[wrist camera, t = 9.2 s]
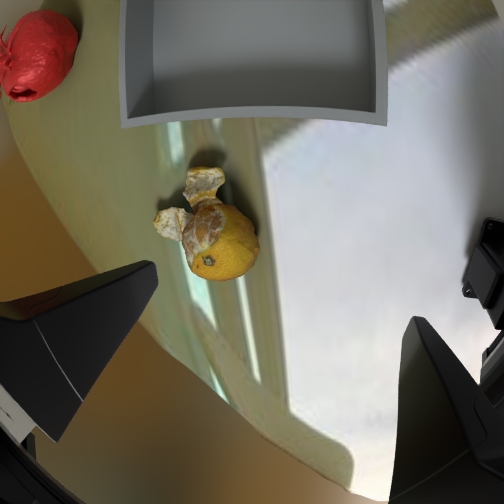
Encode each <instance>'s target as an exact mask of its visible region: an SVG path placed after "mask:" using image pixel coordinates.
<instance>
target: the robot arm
mask: <svg viewBox="0 0 504 504" xmlns="http://www.w3.org/2000/svg"><path fill="white" fill-rule="evenodd" d="M489 223H491V226H490V227H488V224H489ZM466 276H467V277H466V280H465V283H464V286H463V288H462V293H463V295H464V296H465V297H467V298H476V299H479V301H480V303H481V305H482V307H483V309H486V310H487V312H488V314H489V316H490V318H491V321H492V323H493V325H494V327H495V329H496V330H501V332H500V333H499V334H498V336H497V337H496V339H495V340H494V341H493V343H492V344H491V345H490V347H489V348H486V350H485V351H484V352H483V354H482V368H481V374H480V384H479V385H478V384H477V383H476V382H475V380H474V379H473V378H472V376H471V375H470V374H469V372H468V371H467V370H466V368H465V367H464V366H463V364H462V363H461V362H460V360H459V359H458V358H457V357H456V355H455V354H454V353H453V351H452V350H451V349H450V348H449V346H448V345H447V344H446V343H445V342H444V340H443V339H442V338H441V337H440V335H439V334H438V333H437V332H436V331H435V329H434V328H433V327H432V326H431V325H430V323H429V322H428V321H427V320H426V319H425V318H424V317H419V316H413V317H412V318H411V320H410V322H409V324H408V326H407V329H406V331H405V333H404V335H403V339H402V349H401V362H400V372H399V385H398V422H397V438H396V450H395V460H394V469H393V476H392V483H391V490H390V496H389V502H388V504H504V221H503V220H498V219H494V218H486V219H485V220H484V222H483V226H482V230H481V233H480V237H479V240H478V244H477V245H476V247H475V250H474V253H473V256H472V259H471V262H470V265H469V268H468V271H467V274H466ZM157 286H158V276H157V270H156V265H155V263H154V262H152V261H148V260H142V261H139V262H136V263H133V264H129V265H126V266H123V267H120V268H117V269H113V270H110V271H107V272H104V273H101V274H97V275H95V276H92V277H88V278H85V279H82V280H79V281H76V282H73V283H70V284H66V285H64V286H60V287H57V288H54V289H51V290H48V291H45V292H41V293H38V294H34V295H30V296H27V297H23V298H19V299H15V300H12V301H7V302H0V504H86V503H85V502H84V501H82V500H81V499H80V498H79V497H77V496H76V495H75V494H73V493H72V492H71V491H70V490H68V489H67V488H66V487H65V486H64V485H62V484H61V483H60V482H59V481H58V480H56V479H55V478H54V477H53V476H52V475H51V474H50V473H49V472H48V471H47V470H46V469H45V468H43V467H42V466H41V465H40V464H39V463H38V462H37V461H36V451H35V436H34V434H32V433H31V430H32V429H33V428H34V427H35V425H37V426H38V427H39V428H40V429H41V430H42V431H43V432H44V433H45V434H46V435H47V436H49V437H50V438H51V439H52V440H53V441H54V442H55V443H57V442H58V441H59V440H60V438H61V436H62V435H63V433H64V431H65V430H66V428H67V426H68V425H69V423H70V422H71V420H72V418H73V417H74V415H75V413H76V412H77V410H78V409H79V407H80V405H81V404H82V402H83V400H84V399H85V397H86V396H87V394H88V392H89V391H90V389H91V388H92V386H93V385H94V383H95V382H96V380H97V379H98V377H99V376H100V374H101V373H102V371H103V370H104V368H105V367H106V365H107V363H108V362H109V361H110V359H111V358H112V356H113V355H114V353H115V352H116V350H117V349H118V347H119V346H120V345H121V343H122V342H123V340H124V339H125V337H126V336H127V335H128V333H129V332H130V330H131V329H132V327H133V326H134V325H135V323H136V322H137V320H138V319H139V317H140V316H141V314H142V312H143V311H144V309H145V307H146V305H147V304H148V302H149V300H150V298H151V297H152V295H153V293H154V291H155V290H156V288H157ZM469 289H470V290H469ZM467 290H469V291H468V292H466V291H467Z"/></svg>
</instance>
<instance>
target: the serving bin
mask: <svg viewBox="0 0 504 504" xmlns="http://www.w3.org/2000/svg"><path fill="white" fill-rule="evenodd" d="M118 63H119V97H120V113H121V126H122V129H123V128H129V127H136V126H143V125H150V124H158V123H166V122H175V121H186V120H198V119H213V118H236V117H289V118H312V119H327V120H339V121H349V122H358V123H367V124H374V125H382V126H387V109H388V65H387V42H386V28H385V17H384V7H383V0H121V2H120V17H119V49H118Z"/></svg>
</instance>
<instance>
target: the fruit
mask: <svg viewBox="0 0 504 504" xmlns="http://www.w3.org/2000/svg"><path fill="white" fill-rule="evenodd" d="M187 174H188V175H187V179H186V181H185V182H186V188H185V190H184V191H183V195H184V196H185V197H186V199H187V200H188V201H189V203H190V206H191V207H192V208H193V213H187V212H185V211H184V209H181V208H176V207H174V208H173V207H170V208H168V209H165V210H163V211H159V212H157V215H156V218H155V219H154V221H153V223H154V225H155V228H156V230H157V232H158V233H159V234H160V235H162V236H163V237H165V238H169V239H171V240H176V241H182V245H183V248H184V250H185V254H186V259H187V263H188V266H189V267H190V269H191V271H192V272H193V273H194V274H196V275H197V276H199V277H201V278H203V279H206V280H213V281H226V280H230V279H234V278H237V277H240V276H242V275H243V274H245V273H246V272H247V271H248V270H249V269H250V268H251V267H252V266H254V262H255V261H256V259H257V257H258V254H259V251H260V245H259V242H258V238H257V236H256V235H255V234H254V230H255V227H254V225H253V224H252V222H251V220H250V218H247V217H245V216H244V215H243V214H242V213H241V212H240V211H238V209H237V208H236V206H233V205H224V204H223V203H222V202H221V201H220V200H219V199H218V198H217V197H216V191H217V189H218V187H219V186H220V185H222V184H223V183H224V182H225V173H224V171H223V170H222V169H221V168H218V167H214V168H211V167H205V166H200V167H192V168H189V170H188V172H187Z"/></svg>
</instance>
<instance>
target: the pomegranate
mask: <svg viewBox="0 0 504 504" xmlns="http://www.w3.org/2000/svg"><path fill="white" fill-rule="evenodd" d="M5 28H6V26H5ZM4 30H5V29H4ZM3 33H4V31H3V32H2V33H1V34H0V86H1V83H2V87H3V89H4V92H5V94H6V95H7V96H9V98H11V99H13V100H14V101H17V102H29V101H32V100H36V99H39V98H41V97H43V96H44V95H46V94H47V93H49V92H50V91H52V90H53V89H55V88H56V87H57V86H58V85H59V84H60V83H61V82H62V81H63V80H64V78H65V77H66V75H67V74H68V73H69V71H70V69H71V67H72V63H73V57H74V51H75V49H76V47H77V44H78V33H77V31H76V29H75V28H74V27H73V25H72V23H71V22H70V20H69V19H68V18H67V17H66V16H64V15H61V14H58V13H56V12H55V11H52V10H40V11H34V12H30V13H28V14H26V15H24V16H23V17H22V18H21V19H20V20H19V21H18V22H17V24H16V26H15V27H14V28H13V29H12V31H11V32H10V33H9V34H8V36H7V38H6V40H5V41H4V42H3V41H2V36H3ZM0 98H1V92H0Z"/></svg>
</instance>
